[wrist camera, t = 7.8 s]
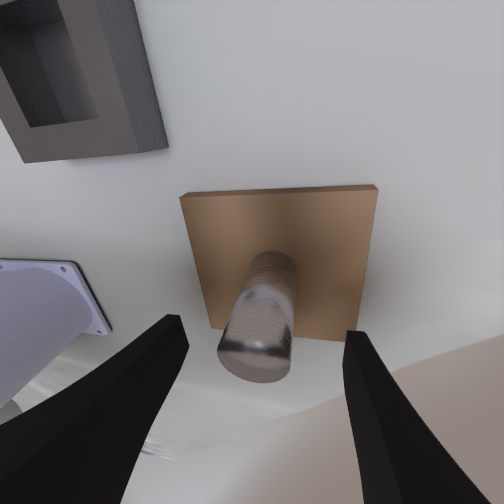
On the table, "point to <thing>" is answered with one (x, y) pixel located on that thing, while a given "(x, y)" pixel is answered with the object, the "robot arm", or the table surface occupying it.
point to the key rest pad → (286, 249)
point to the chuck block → (76, 80)
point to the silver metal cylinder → (262, 321)
